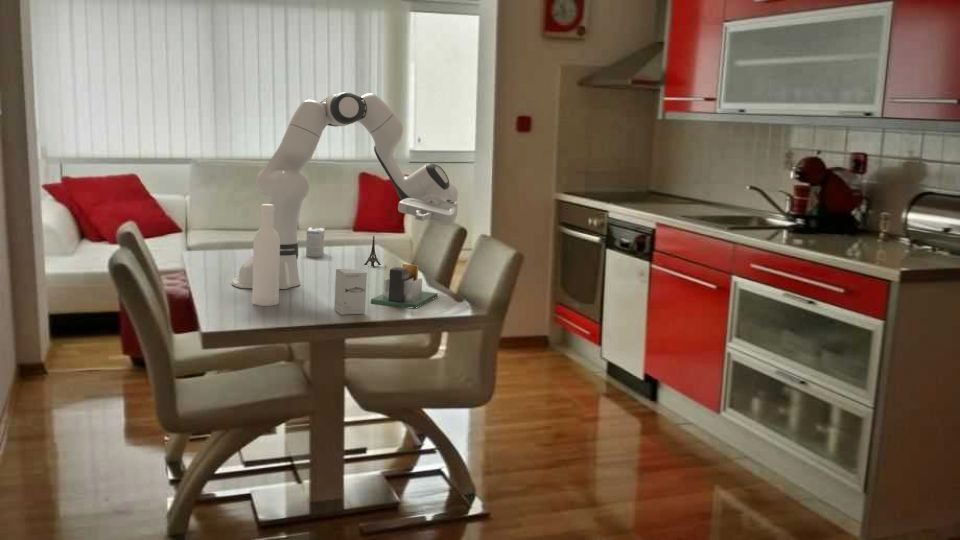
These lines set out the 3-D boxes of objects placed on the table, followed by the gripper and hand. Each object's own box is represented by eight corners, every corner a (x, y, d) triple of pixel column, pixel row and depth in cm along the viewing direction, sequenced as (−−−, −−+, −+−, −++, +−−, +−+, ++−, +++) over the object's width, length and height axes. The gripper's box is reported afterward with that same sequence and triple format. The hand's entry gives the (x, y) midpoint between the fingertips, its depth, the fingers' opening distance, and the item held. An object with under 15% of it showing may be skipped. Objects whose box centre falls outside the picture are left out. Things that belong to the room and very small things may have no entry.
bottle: (254, 306, 255) (256, 205, 250) (249, 301, 262) (251, 202, 257) (281, 305, 258) (283, 206, 253) (276, 300, 265) (278, 203, 260)
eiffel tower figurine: (386, 270, 333) (388, 236, 331) (360, 269, 332) (361, 235, 330) (386, 264, 348) (388, 231, 346) (361, 263, 347) (362, 230, 344)
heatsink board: (395, 291, 290) (396, 259, 289) (437, 296, 286) (439, 263, 285) (370, 302, 270) (372, 267, 269) (415, 308, 267) (417, 272, 265)
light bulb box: (307, 252, 363) (308, 226, 361) (324, 253, 363) (324, 227, 362) (305, 256, 352) (306, 230, 350) (322, 257, 353) (323, 230, 351)
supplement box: (341, 315, 251) (343, 272, 249) (333, 310, 257) (335, 268, 255) (365, 314, 254) (367, 272, 252) (357, 309, 261) (358, 268, 259)
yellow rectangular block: (402, 287, 283) (404, 263, 281) (417, 289, 281) (418, 265, 280) (390, 293, 272) (391, 268, 271) (405, 295, 271) (406, 270, 269)
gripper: (407, 190, 302) (391, 202, 290) (462, 204, 297) (448, 216, 285) (405, 207, 305) (390, 219, 293) (459, 221, 300) (445, 233, 288)
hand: (419, 218), depth 289 cm, fingers closed
